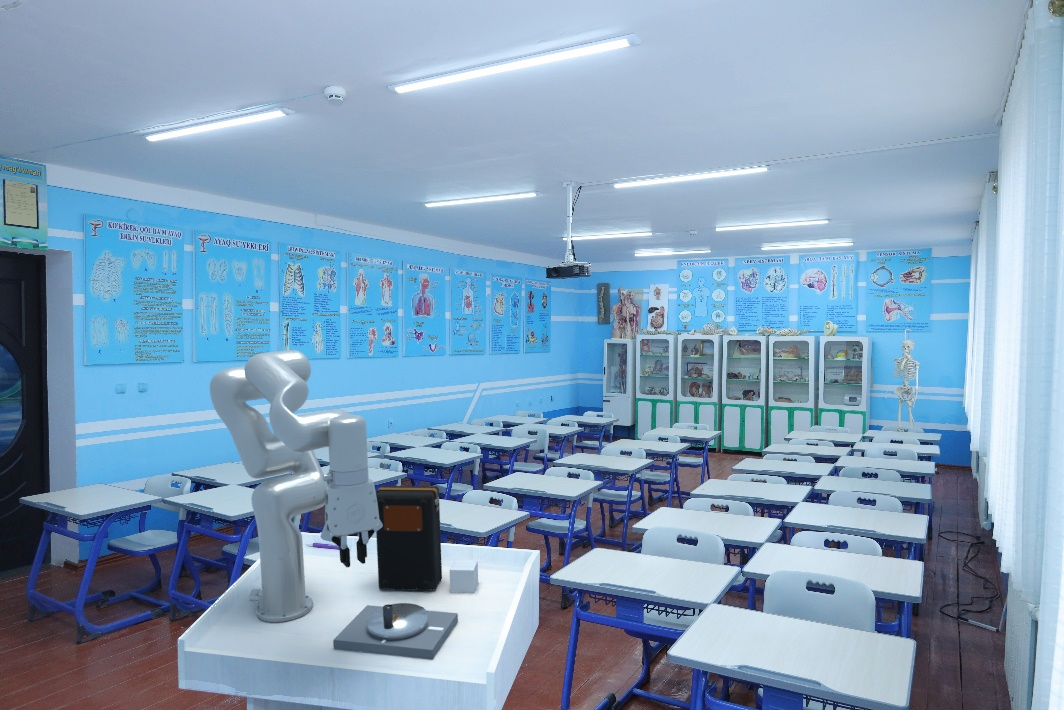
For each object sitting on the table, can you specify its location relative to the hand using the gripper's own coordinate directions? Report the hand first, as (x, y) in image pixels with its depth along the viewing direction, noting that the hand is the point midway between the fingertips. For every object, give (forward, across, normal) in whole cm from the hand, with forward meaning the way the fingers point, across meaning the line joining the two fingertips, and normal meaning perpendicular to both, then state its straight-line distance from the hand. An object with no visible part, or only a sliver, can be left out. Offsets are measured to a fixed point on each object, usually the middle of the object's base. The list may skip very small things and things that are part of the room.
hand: (353, 562), depth 146 cm
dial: (+17, +9, +2) cm, 19 cm away
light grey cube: (+19, +32, +14) cm, 40 cm away
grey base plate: (+19, +9, +2) cm, 21 cm away
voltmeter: (+19, +21, +24) cm, 37 cm away
